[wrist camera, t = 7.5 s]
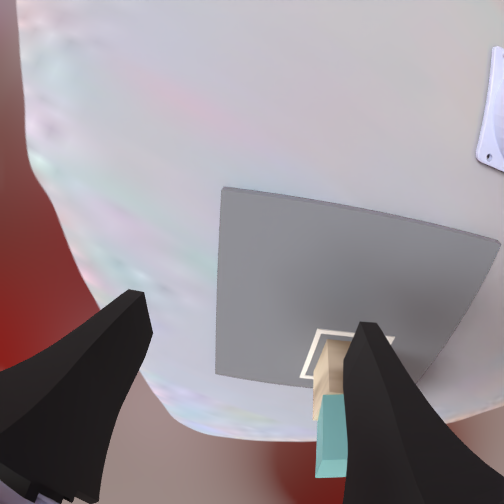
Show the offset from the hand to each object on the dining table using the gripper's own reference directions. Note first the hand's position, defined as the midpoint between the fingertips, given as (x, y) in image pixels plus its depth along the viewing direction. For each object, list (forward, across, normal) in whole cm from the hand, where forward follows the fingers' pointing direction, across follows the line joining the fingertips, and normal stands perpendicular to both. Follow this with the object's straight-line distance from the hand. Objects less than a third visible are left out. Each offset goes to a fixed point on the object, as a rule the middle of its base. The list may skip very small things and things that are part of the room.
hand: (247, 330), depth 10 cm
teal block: (+4, -8, +12) cm, 15 cm away
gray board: (+10, -7, +8) cm, 14 cm away
